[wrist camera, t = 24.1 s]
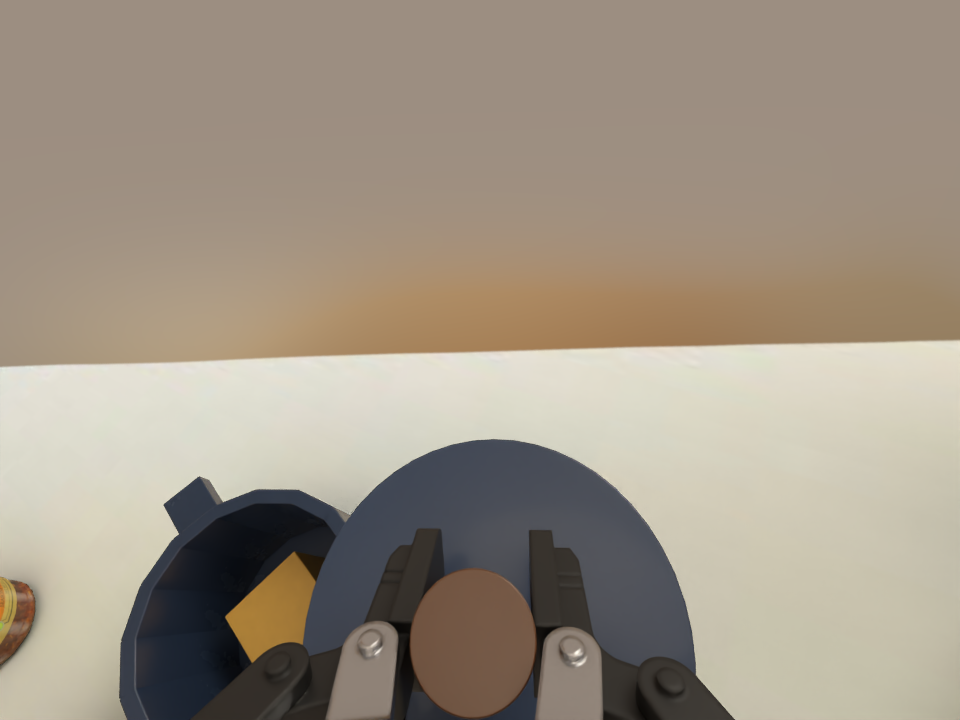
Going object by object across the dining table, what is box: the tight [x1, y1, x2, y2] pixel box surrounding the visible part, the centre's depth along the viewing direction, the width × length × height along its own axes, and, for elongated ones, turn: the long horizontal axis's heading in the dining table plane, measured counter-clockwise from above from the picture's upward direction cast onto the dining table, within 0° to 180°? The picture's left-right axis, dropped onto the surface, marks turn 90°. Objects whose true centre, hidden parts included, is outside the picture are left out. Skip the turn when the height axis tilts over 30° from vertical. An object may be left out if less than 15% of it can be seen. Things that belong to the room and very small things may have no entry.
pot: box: [119, 477, 350, 720], centre depth 26 cm, size 13×18×10 cm
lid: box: [303, 439, 696, 720], centre depth 13 cm, size 14×14×8 cm
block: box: [225, 551, 325, 663], centre depth 28 cm, size 5×5×5 cm
